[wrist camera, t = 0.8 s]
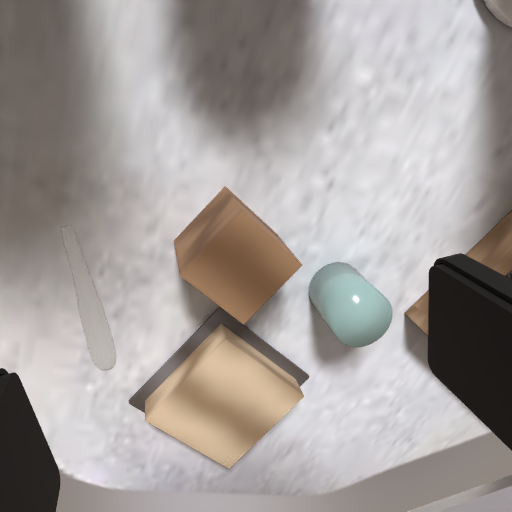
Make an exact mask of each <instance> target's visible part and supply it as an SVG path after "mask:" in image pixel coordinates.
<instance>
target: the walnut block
mask: <svg viewBox="0 0 512 512" xmlns="http://www.w3.org/2000/svg"><path fill="white" fill-rule="evenodd" d="M174 244H175V249H176V255H177V260H178V266H179V271H180V276H181V277H182V278H184V279H185V280H186V281H187V282H189V283H190V284H191V285H193V286H194V287H195V288H197V289H198V290H199V291H201V292H202V293H203V294H204V295H206V296H207V297H208V298H210V299H211V300H212V301H214V302H215V303H216V304H217V305H219V306H220V307H221V308H223V309H224V310H225V311H227V312H228V313H229V314H230V315H232V316H233V317H234V318H236V319H237V320H238V321H240V322H241V323H242V324H243V325H244V324H245V323H246V322H247V321H248V320H249V319H250V318H251V317H252V316H253V315H254V314H255V313H256V312H257V311H258V310H259V308H260V307H261V306H262V305H263V304H264V303H265V302H266V301H267V300H268V299H269V298H270V297H271V296H272V295H273V294H274V293H275V292H276V291H277V290H278V289H279V288H280V287H281V286H282V285H283V284H284V283H285V282H286V281H287V280H288V279H289V278H290V277H291V276H292V275H293V274H294V273H295V272H296V271H297V270H298V269H299V268H300V267H301V266H302V264H301V263H300V262H299V260H298V259H297V258H296V257H295V256H294V254H293V253H292V252H291V251H290V249H289V248H288V247H287V246H286V245H285V243H284V242H283V241H282V240H281V239H280V237H279V236H278V235H277V234H276V233H275V232H274V231H273V230H272V229H271V228H270V227H269V226H268V225H267V224H265V223H264V222H263V221H262V220H261V219H260V218H259V217H258V216H257V215H256V214H255V213H254V212H253V211H251V210H250V209H249V208H248V207H247V206H246V205H245V204H244V203H243V202H242V201H241V200H240V199H239V198H237V197H236V196H235V195H234V194H233V193H232V192H231V191H230V190H229V189H228V188H227V187H226V186H225V187H224V188H223V189H222V190H221V191H220V192H219V193H218V194H217V195H216V196H215V198H214V199H213V200H212V201H211V202H210V203H209V204H208V205H207V206H206V207H205V208H204V209H203V210H202V211H201V213H200V214H199V215H198V216H197V217H196V218H195V219H194V220H193V221H192V222H191V223H190V224H189V225H188V226H187V227H186V229H185V230H184V231H183V232H182V233H181V234H180V235H179V236H178V237H177V238H176V239H175V240H174Z"/></svg>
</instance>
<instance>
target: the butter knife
mask: <svg viewBox="0 0 512 512" xmlns="http://www.w3.org/2000/svg"><path fill="white" fill-rule="evenodd" d="M61 230H62V236H63V241H64V246H65V249H66V252H67V256H68V260H69V263H70V267H71V271H72V274H73V278H74V283H75V288H76V294H77V300H78V306H79V312H80V317H81V321H82V325H83V329H84V333H85V337H86V341H87V345H88V348H89V351H90V355H91V357H92V360H93V362H94V363H95V365H96V366H97V367H98V368H99V369H100V370H108V369H111V368H113V367H114V365H115V361H116V352H115V348H114V343H113V339H112V336H111V332H110V329H109V326H108V322H107V319H106V316H105V313H104V310H103V307H102V304H101V302H100V300H99V297H98V295H97V292H96V289H95V287H94V284H93V281H92V279H91V276H90V274H89V271H88V268H87V265H86V263H85V260H84V257H83V255H82V252H81V249H80V246H79V243H78V240H77V237H76V234H75V232H74V230H73V228H72V226H64V227H61Z"/></svg>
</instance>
